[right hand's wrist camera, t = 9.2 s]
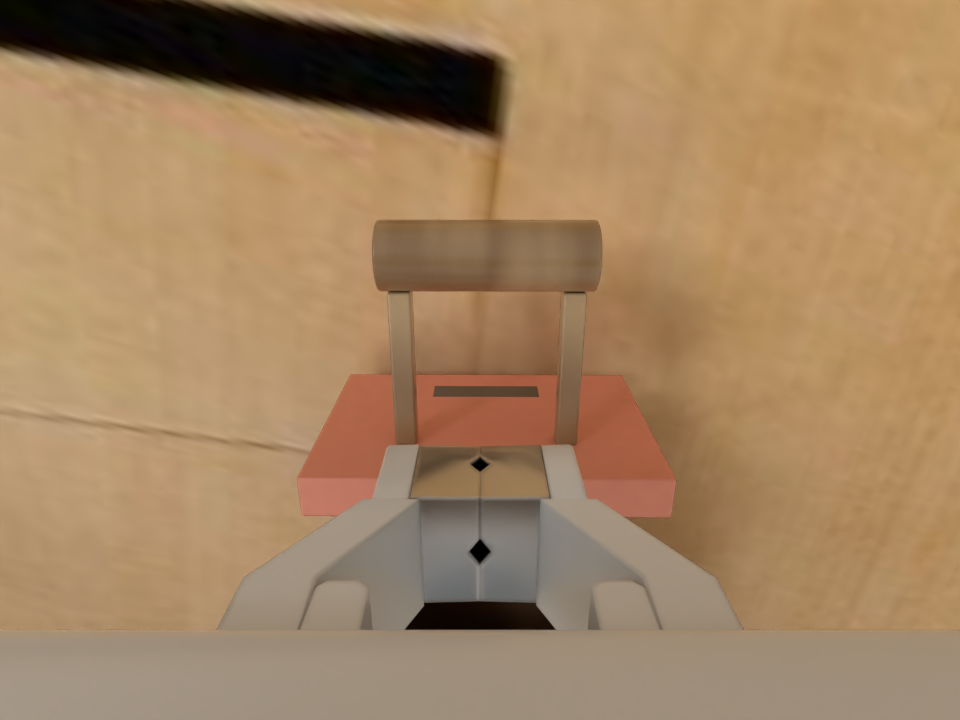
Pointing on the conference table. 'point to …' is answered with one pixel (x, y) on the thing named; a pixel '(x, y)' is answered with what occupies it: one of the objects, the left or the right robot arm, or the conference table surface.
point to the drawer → (488, 387)
